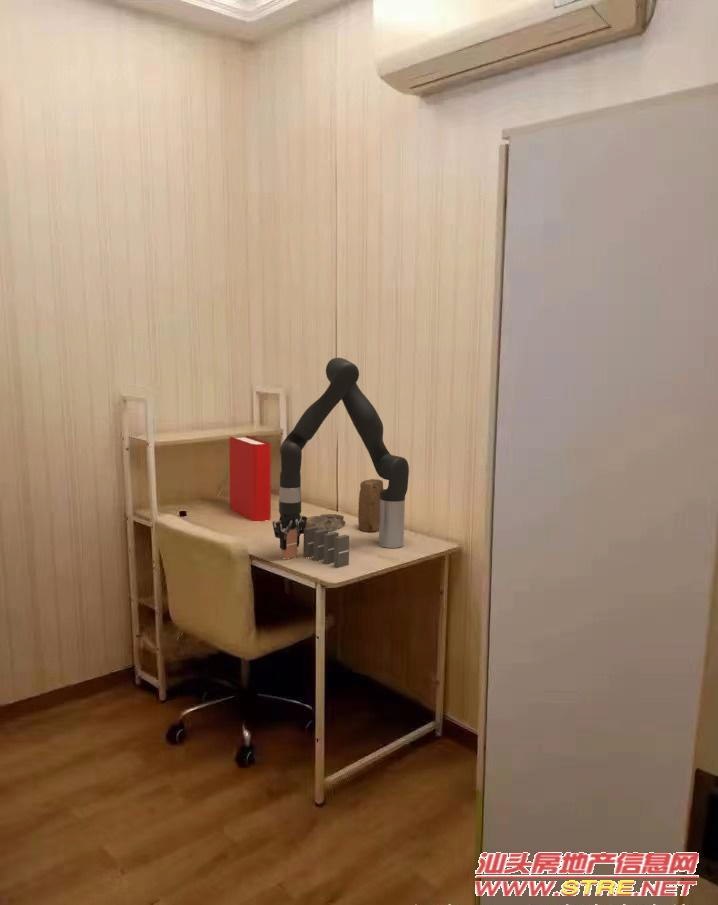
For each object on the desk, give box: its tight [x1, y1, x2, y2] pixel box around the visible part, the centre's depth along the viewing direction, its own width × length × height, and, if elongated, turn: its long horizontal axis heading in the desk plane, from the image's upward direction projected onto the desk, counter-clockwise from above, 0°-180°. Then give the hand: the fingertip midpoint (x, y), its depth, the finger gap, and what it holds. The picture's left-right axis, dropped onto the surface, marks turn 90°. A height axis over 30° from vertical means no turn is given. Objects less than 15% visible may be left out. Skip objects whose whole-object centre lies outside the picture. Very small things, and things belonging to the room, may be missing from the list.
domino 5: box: [333, 534, 350, 568], centre depth 243 cm, size 2×5×10 cm, turn 137°
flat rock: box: [301, 513, 346, 533], centre depth 293 cm, size 14×5×20 cm
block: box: [357, 478, 384, 533], centre depth 290 cm, size 11×8×20 cm
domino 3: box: [312, 529, 328, 562], centre depth 250 cm, size 2×5×10 cm, turn 137°
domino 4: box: [322, 531, 340, 565], centre depth 246 cm, size 2×5×10 cm, turn 136°
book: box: [229, 435, 272, 522], centre depth 310 cm, size 27×8×32 cm, turn 31°
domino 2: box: [302, 526, 318, 559], centre depth 253 cm, size 2×5×10 cm, turn 136°
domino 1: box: [281, 529, 298, 560], centre depth 251 cm, size 2×5×10 cm, turn 136°
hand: (289, 547), depth 251 cm, fingers closed on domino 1, 5 cm apart
